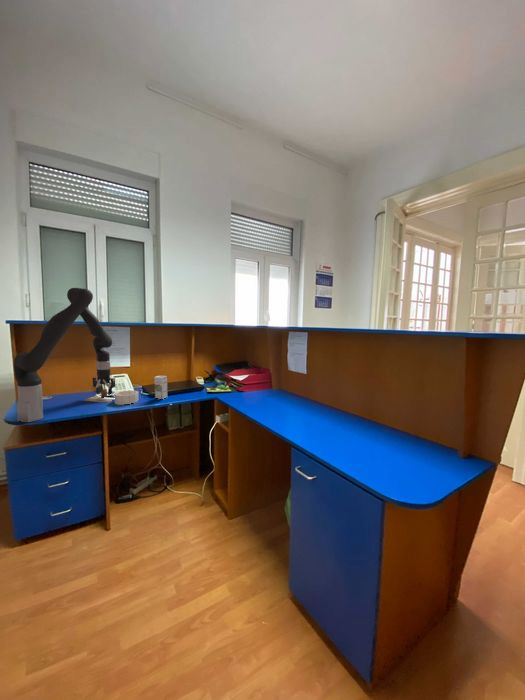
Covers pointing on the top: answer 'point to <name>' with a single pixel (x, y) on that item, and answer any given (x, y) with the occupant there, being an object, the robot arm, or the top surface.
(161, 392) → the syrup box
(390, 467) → the top surface
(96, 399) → the oak lid
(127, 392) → the cream bowl
